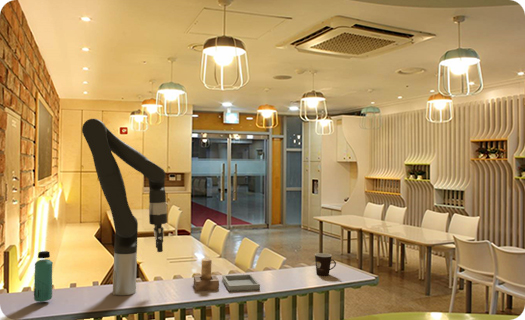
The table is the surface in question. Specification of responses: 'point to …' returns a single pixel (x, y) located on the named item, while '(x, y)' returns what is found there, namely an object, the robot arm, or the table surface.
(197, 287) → the walnut block
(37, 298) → the beverage bottle
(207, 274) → the oak dowel
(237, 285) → the slate grey tray
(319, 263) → the coffee mug
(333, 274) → the table surface
